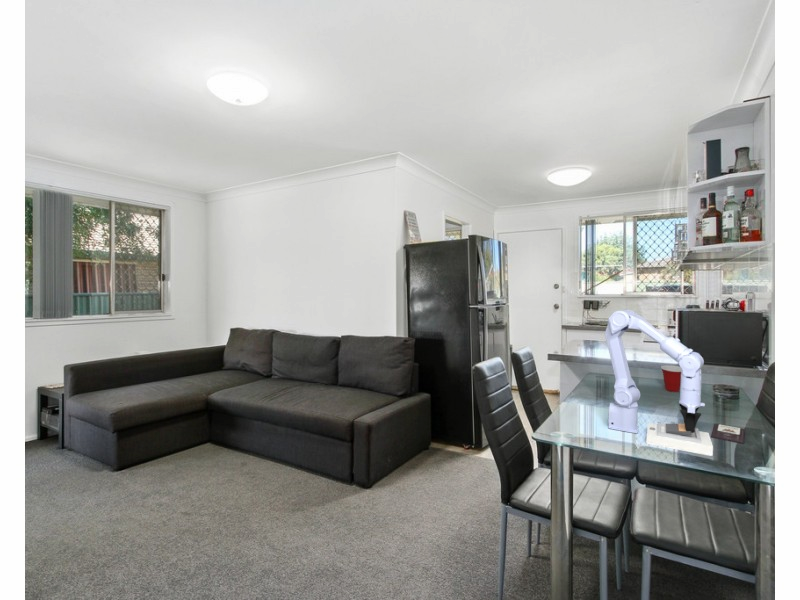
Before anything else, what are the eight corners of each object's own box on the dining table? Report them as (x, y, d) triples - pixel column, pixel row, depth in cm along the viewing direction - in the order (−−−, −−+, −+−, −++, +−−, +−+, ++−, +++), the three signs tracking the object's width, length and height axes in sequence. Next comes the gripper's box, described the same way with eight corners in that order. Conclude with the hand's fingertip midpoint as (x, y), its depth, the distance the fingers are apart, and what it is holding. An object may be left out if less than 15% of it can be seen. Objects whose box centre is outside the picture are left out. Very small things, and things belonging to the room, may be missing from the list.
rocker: (667, 437, 141) (665, 430, 141) (666, 429, 149) (665, 423, 149) (692, 437, 137) (690, 430, 137) (690, 429, 145) (689, 423, 145)
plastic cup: (658, 390, 213) (659, 367, 212) (660, 386, 221) (661, 364, 221) (684, 394, 206) (685, 370, 206) (685, 390, 215) (686, 367, 214)
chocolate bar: (710, 436, 149) (714, 423, 162) (710, 438, 149) (714, 425, 162) (743, 442, 143) (744, 429, 156) (743, 445, 143) (744, 431, 156)
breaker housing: (646, 443, 142) (646, 431, 141) (647, 430, 154) (648, 419, 154) (712, 456, 132) (713, 443, 132) (708, 441, 145) (708, 429, 145)
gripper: (707, 395, 133) (705, 437, 133) (703, 386, 145) (701, 425, 145) (680, 392, 136) (679, 433, 137) (678, 383, 149) (677, 421, 149)
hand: (689, 428), depth 141 cm, fingers open, 7 cm apart
